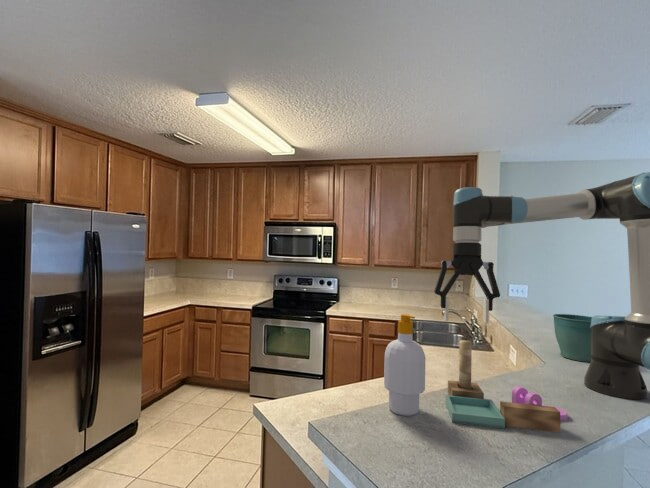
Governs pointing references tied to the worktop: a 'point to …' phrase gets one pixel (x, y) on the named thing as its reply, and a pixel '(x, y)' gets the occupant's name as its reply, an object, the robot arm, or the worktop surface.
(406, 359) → the soap bottle
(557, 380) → the worktop surface
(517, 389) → the bracket
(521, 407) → the block
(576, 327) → the flower pot
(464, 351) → the dowel
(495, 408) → the tray
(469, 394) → the socket block
